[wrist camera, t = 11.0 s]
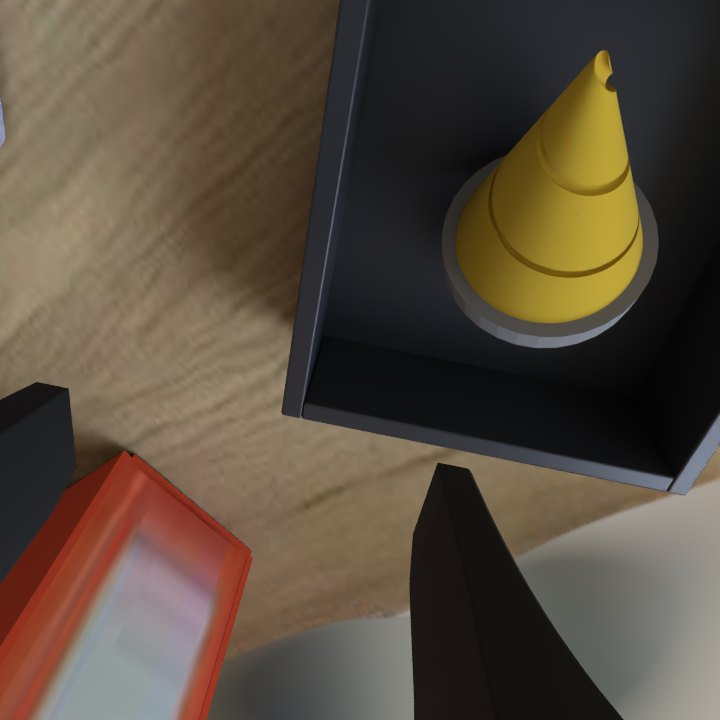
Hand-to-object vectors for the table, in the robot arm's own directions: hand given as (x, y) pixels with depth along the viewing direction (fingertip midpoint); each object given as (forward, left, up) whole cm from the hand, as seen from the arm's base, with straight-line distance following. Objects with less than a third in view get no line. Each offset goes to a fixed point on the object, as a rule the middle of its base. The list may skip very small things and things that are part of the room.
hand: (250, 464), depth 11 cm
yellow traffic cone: (+5, +4, -9) cm, 11 cm away
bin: (+6, +4, -9) cm, 12 cm away
